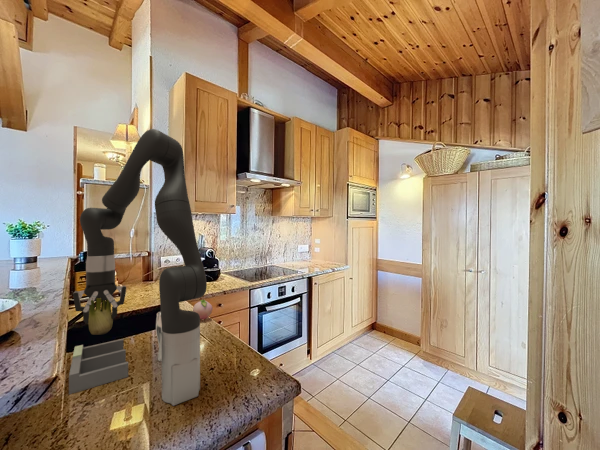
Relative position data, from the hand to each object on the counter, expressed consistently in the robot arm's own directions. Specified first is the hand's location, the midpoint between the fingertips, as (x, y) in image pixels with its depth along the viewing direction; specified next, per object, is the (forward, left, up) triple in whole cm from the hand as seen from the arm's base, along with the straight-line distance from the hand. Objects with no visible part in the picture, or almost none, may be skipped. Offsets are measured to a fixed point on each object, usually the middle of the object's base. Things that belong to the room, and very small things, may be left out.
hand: (100, 320), depth 84 cm
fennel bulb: (-1, 0, -4) cm, 4 cm away
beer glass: (-10, -18, -14) cm, 25 cm away
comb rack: (-5, 0, -13) cm, 14 cm away
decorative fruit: (+18, -38, -14) cm, 44 cm away
